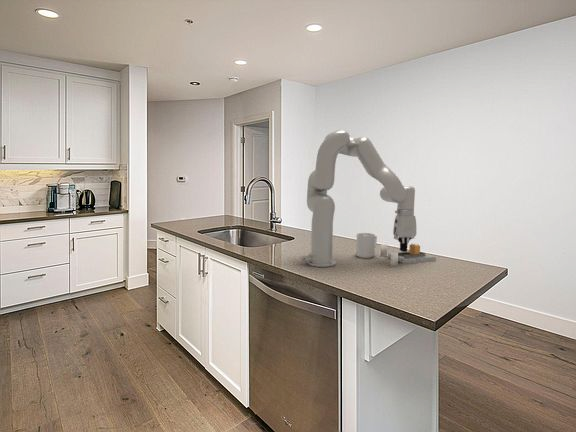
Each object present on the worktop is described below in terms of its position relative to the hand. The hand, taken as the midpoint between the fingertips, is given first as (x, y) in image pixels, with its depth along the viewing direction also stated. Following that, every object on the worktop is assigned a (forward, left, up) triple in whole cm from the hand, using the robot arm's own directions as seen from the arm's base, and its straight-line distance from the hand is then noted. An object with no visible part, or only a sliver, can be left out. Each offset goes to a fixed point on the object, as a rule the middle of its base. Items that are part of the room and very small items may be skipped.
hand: (403, 251), depth 174 cm
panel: (+5, 0, -4) cm, 6 cm away
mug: (-12, +12, -5) cm, 18 cm away
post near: (-10, -8, -4) cm, 14 cm away
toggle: (+6, 0, -2) cm, 6 cm away
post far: (-4, +10, -4) cm, 12 cm away
